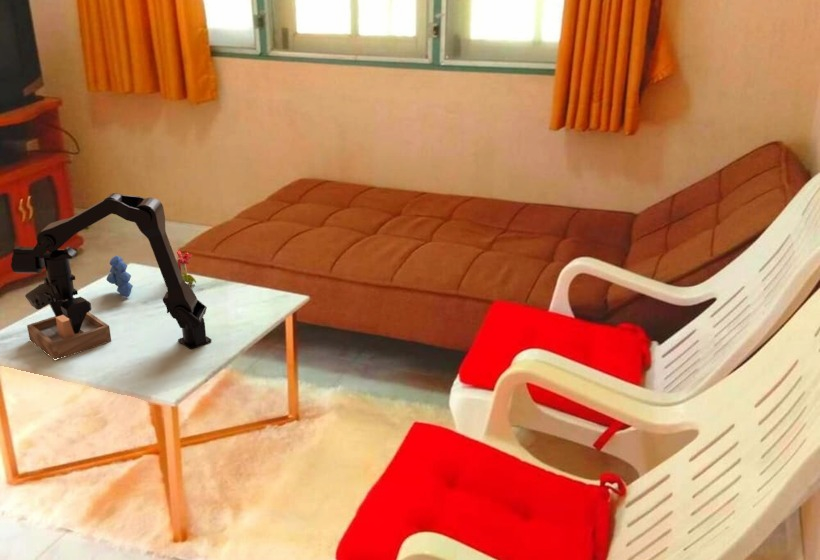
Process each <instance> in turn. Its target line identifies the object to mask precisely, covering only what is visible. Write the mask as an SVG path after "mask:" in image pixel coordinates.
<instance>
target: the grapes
mask: <svg viewBox="0 0 820 560" xmlns="http://www.w3.org/2000/svg"><path fill="white" fill-rule="evenodd" d="M109 265H110V266H111V267H110V270H109V273H108V274H107V277H106V279H105V280H106V281H107V282H108V283H110V284H111V285H115V286H116V287H117V289H116V292H118V293H119V294H120V295H122V296H123V297H124V298H129V297H130V296H131V294H132V290H133V287H134V286H133V284H131V282H130V281H131V277H132V275H131V274H130V273H129V272H127V269H128V265H127V264H126V263H125V262H124V259H123V258H122V257H121V256H119V255H115V256H113V257H112V258H111V259H110V262H109Z"/></svg>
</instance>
